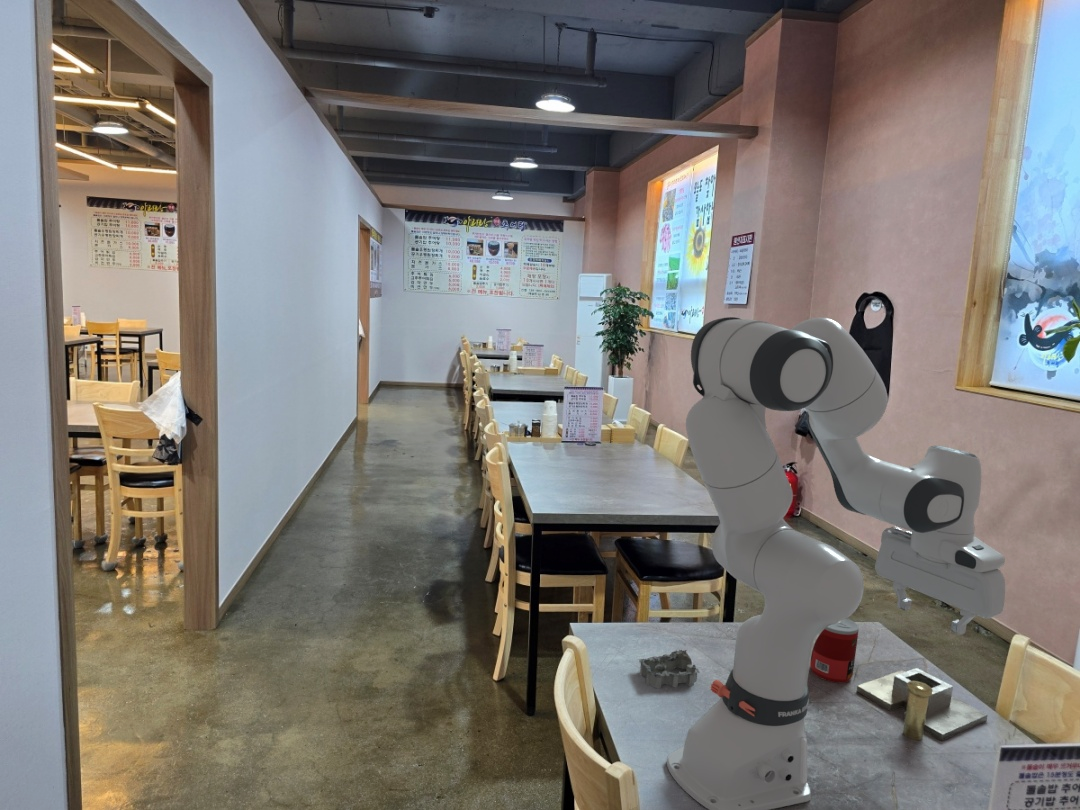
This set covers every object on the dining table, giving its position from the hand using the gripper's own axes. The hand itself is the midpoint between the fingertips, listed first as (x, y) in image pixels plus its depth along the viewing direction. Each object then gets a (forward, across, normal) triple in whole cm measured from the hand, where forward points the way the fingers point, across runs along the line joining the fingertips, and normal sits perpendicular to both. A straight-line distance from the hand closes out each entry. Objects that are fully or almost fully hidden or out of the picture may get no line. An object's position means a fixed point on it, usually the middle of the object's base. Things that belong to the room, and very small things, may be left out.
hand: (929, 620), depth 116 cm
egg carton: (+22, -32, -28) cm, 48 cm away
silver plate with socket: (+21, -5, +10) cm, 24 cm away
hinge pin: (+21, 0, 0) cm, 21 cm away
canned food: (+22, -20, +4) cm, 30 cm away
